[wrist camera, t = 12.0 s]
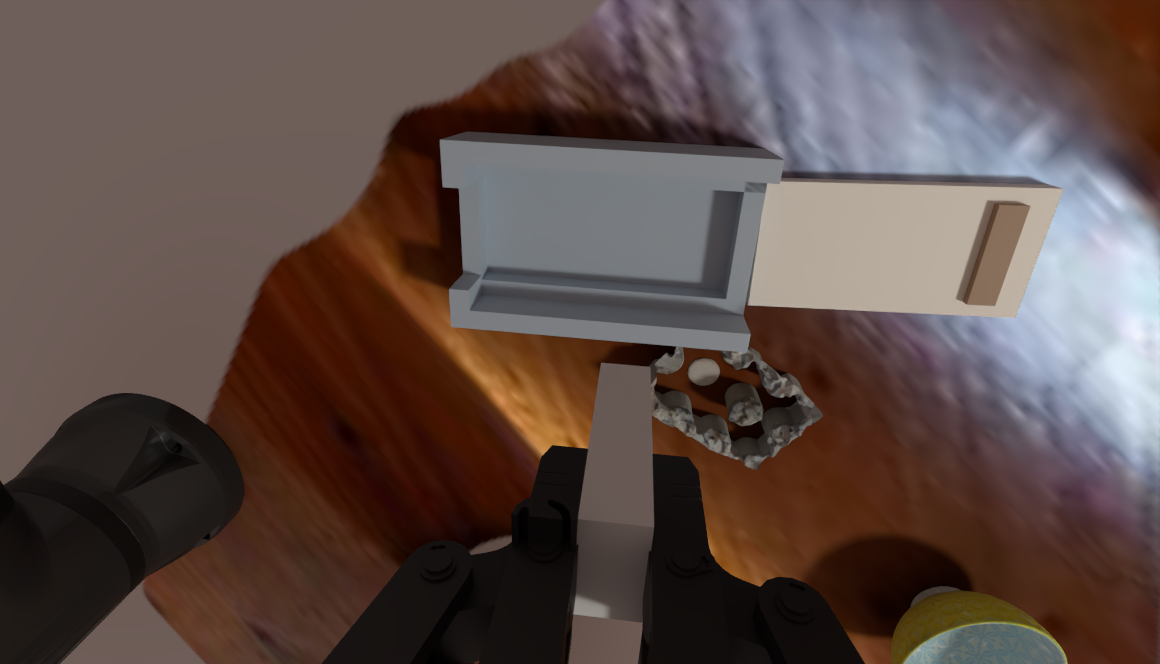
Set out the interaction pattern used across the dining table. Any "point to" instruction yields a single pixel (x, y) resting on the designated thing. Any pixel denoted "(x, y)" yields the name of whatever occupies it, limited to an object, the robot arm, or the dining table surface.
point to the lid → (900, 245)
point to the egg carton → (734, 407)
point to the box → (606, 237)
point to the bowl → (970, 632)
